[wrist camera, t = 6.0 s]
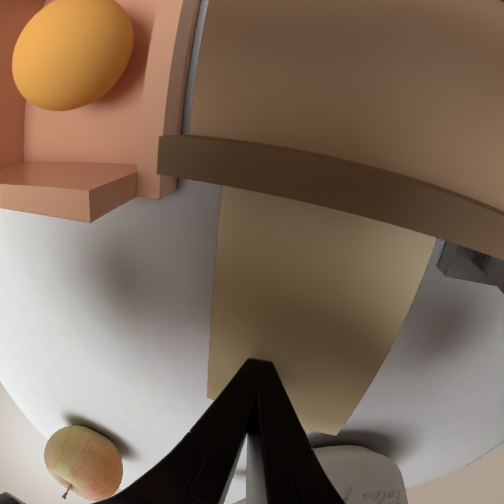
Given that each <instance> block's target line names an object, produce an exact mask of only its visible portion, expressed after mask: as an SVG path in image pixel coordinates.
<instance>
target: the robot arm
mask: <svg viewBox="0 0 504 504" xmlns="http://www.w3.org/2000/svg"><path fill="white" fill-rule="evenodd" d="M246 435H247V473H246V504H346V503H345V502H344V500H343V499H342V497H341V496H340V494H339V493H338V492H337V490H336V489H335V487H334V486H333V484H332V483H331V481H330V480H329V478H328V476H327V475H326V473H325V471H324V470H323V468H322V466H321V464H320V462H319V460H318V458H317V456H316V454H315V452H314V450H313V449H312V446H311V444H310V442H309V440H308V437H307V435H306V433H305V431H304V429H303V427H302V425H301V423H300V420H299V418H298V416H297V414H296V412H295V410H294V408H293V405H292V403H291V401H290V399H289V397H288V395H287V392H286V390H285V388H284V386H283V384H282V381H281V379H280V377H279V375H278V373H277V370H276V368H275V366H274V364H273V362H271V361H266V360H259V359H253V358H248V359H247V360H246V361H245V362H244V363H243V365H242V366H241V367H240V369H239V370H238V371H237V373H236V374H235V375H234V376H233V378H232V379H231V380H230V382H229V383H228V384H227V385H226V387H225V388H224V389H223V390H222V392H221V393H220V394H219V395H218V397H217V398H216V399H215V400H214V402H213V403H212V404H211V405H210V407H209V408H208V409H207V410H206V411H205V413H204V414H203V415H202V416H201V418H200V419H199V420H198V421H197V422H196V424H195V425H194V426H193V427H192V428H191V430H190V432H188V433H187V434H186V435H185V436H184V438H183V439H182V440H181V441H180V442H179V443H178V444H177V445H176V446H175V447H174V448H173V450H172V451H171V452H170V453H169V454H167V455H166V456H165V457H164V458H163V459H162V460H161V461H160V462H159V463H157V464H156V465H155V466H154V467H152V468H151V469H150V470H149V471H148V472H146V473H145V474H144V475H142V476H141V477H140V478H139V479H137V480H136V481H135V482H133V483H132V484H131V485H130V486H128V487H127V488H125V489H124V490H122V491H121V492H120V493H118V494H116V495H114V496H112V497H110V498H107V499H105V500H101V501H99V502H95V503H92V504H223V503H224V501H225V498H226V495H227V492H228V489H229V486H230V484H231V481H232V478H233V475H234V472H235V469H236V466H237V463H238V460H239V457H240V454H241V451H242V448H243V445H244V441H245V438H246ZM0 504H25V503H24V502H22V501H20V500H19V499H17V498H16V497H14V496H13V495H11V494H9V493H7V492H4V493H2V494H0Z"/></svg>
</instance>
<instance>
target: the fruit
mask: <svg viewBox="0 0 504 504" xmlns="http://www.w3.org/2000/svg"><path fill="white" fill-rule="evenodd" d="M44 458H45V464H46V467H47V469H48V470H49V472H50V473H51V475H52V476H53V477H54V478H55V479H56V480H57V481H58V482H59V483H60V484H61V485H63V486H64V487H66V488H67V489H68V490H67V492H66V493H65V494H64V495H63V496H62V497H63V498H64V499H66V495H67V493H68V491H69V490H71V491H72V492H74V493H76V494H77V495H80V496H81V497H83V498H86V499H89V500H94V501H99V500H105V499H107V498H109V497H111V496H112V495H113V494H114V493H115V492H116V491H117V489H118V488H119V485H120V483H121V480H122V475H123V465H122V459H121V456H120V453H119V451H118V449H117V447H116V446H115V445H114V443H113V442H112V441H110V440H109V439H108V438H106V437H105V436H103V435H101V434H99V433H97V432H95V431H93V430H91V429H90V428H87V427H84V426H68V427H64V428H62V429H60V430H58V431H57V432H55V433H54V434H53V435H52V436H51V437H50V439H49V440H48V442H47V445H46V447H45V452H44Z"/></svg>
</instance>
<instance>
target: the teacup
mask: <svg viewBox="0 0 504 504" xmlns="http://www.w3.org/2000/svg"><path fill="white" fill-rule="evenodd" d="M313 450H314V452H315V454H316V456H317V458H318V460H319V462H320V464H321V466H322V468H323V470H324V471H325V473H326V475H327V476H328V478H329V480H330V481H331V483H332V484H333V486H334V487H335V489H336V490H337V492H338V493H339V494H340V496H341V497H342V499H343V500H344V502H345V503H346V504H408V502H407V495H406V490H405V486H404V481H403V477H402V475H401V472H400V470H399V468H398V466H397V465H396V464H395V463H394V461H393V460H391V459H390V458H388V457H386V456H384V455H381V454H379V453H375V452H373V451H372V450H370V449H368V448H365V447H361V446H355V445H336V446H326V447H320V448H314V449H313ZM234 504H246V498H244V499H242V500H240V501H238V502H236V503H234Z"/></svg>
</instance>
